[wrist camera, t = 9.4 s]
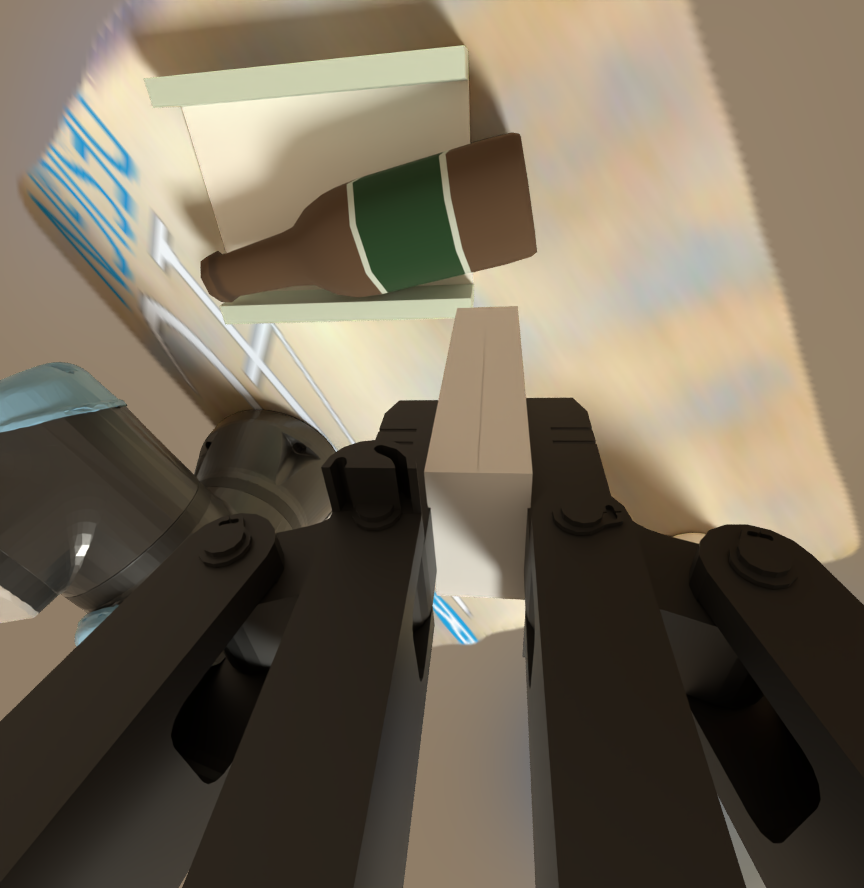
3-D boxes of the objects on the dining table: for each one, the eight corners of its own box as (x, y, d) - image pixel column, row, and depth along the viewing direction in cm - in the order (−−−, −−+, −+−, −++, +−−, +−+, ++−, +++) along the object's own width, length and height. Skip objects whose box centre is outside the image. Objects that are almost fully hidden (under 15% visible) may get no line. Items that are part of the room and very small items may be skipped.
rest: (246, 307, 42) (225, 324, 39) (178, 80, 33) (143, 78, 30) (473, 299, 40) (471, 317, 36) (468, 50, 31) (464, 45, 27)
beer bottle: (520, 150, 34) (229, 236, 40) (515, 101, 27) (160, 215, 33) (537, 264, 36) (254, 330, 41) (537, 247, 28) (193, 331, 34)
